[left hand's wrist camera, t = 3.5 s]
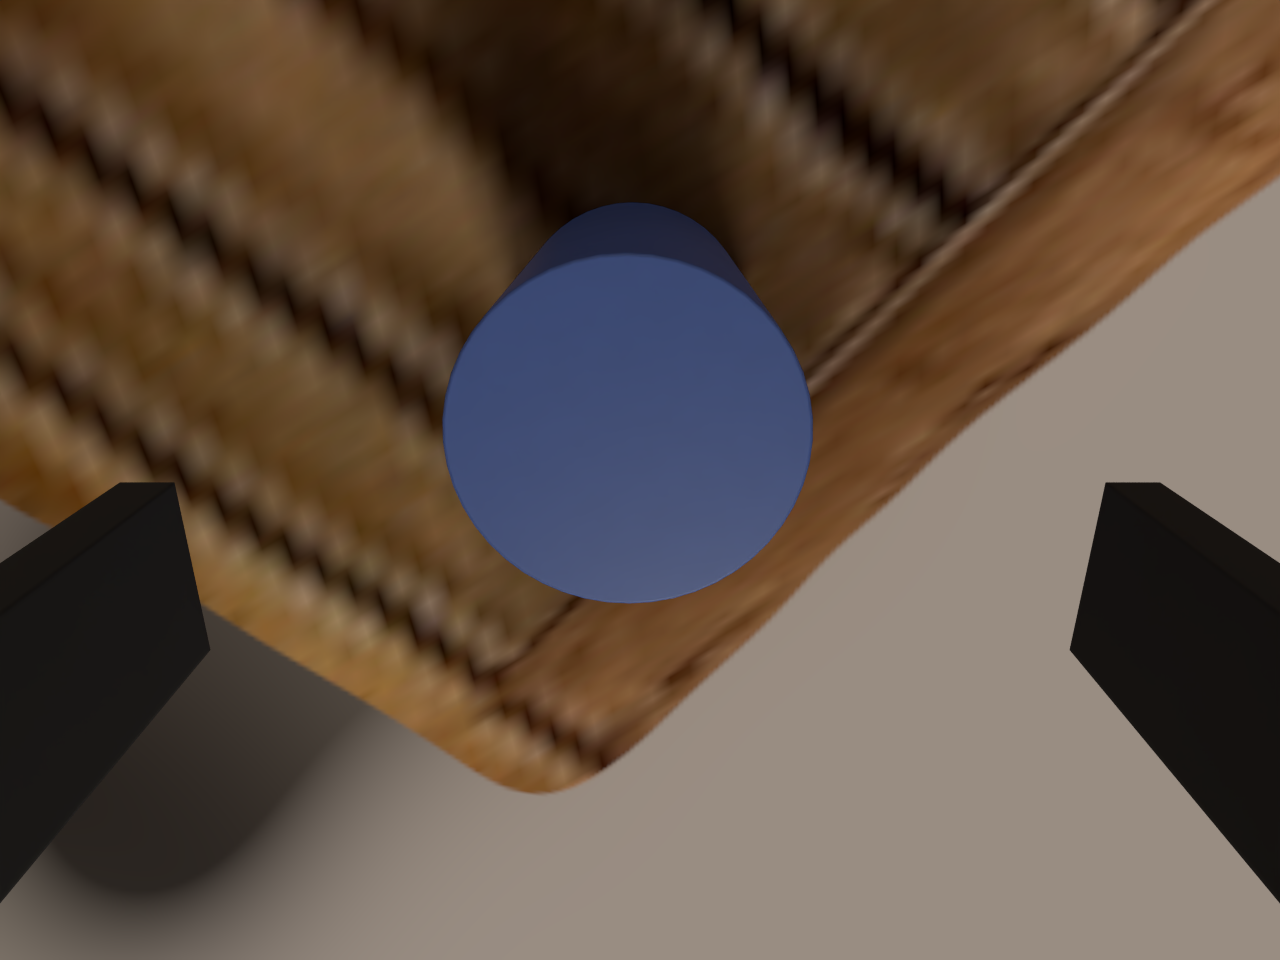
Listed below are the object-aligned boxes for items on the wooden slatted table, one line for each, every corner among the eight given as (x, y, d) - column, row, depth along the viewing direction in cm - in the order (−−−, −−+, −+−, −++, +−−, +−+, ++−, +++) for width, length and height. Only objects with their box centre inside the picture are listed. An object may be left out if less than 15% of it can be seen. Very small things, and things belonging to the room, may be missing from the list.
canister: (511, 414, 30) (434, 584, 19) (528, 187, 27) (450, 227, 16) (725, 440, 31) (776, 622, 19) (765, 218, 28) (849, 280, 17)
